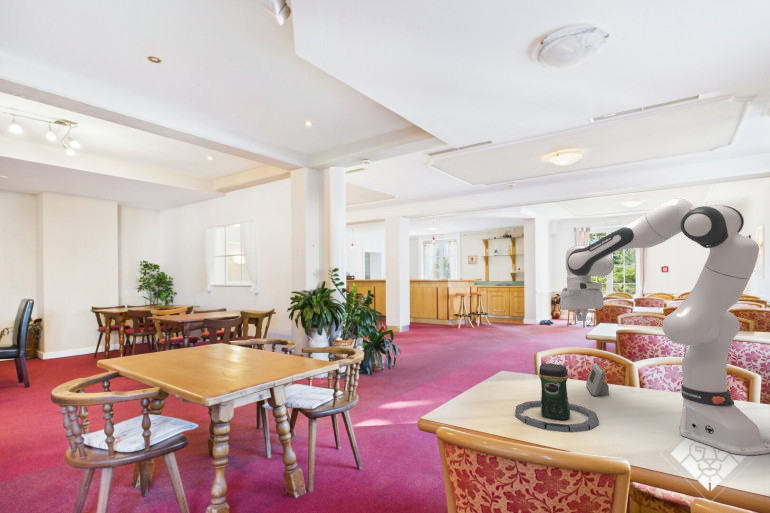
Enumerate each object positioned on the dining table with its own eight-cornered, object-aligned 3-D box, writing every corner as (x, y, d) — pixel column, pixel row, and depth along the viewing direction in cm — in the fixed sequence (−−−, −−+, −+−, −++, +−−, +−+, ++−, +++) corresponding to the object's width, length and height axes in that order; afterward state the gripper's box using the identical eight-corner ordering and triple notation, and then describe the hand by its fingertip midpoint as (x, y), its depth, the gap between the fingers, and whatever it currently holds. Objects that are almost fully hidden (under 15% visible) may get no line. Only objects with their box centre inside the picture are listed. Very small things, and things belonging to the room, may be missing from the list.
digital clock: (586, 386, 180) (585, 362, 180) (609, 388, 175) (608, 364, 176) (584, 395, 166) (582, 370, 166) (608, 398, 161) (607, 372, 162)
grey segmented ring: (616, 427, 132) (616, 422, 132) (541, 435, 127) (541, 429, 127) (566, 402, 158) (566, 397, 158) (502, 407, 154) (502, 403, 154)
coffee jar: (571, 415, 144) (569, 363, 145) (568, 422, 137) (565, 367, 138) (543, 410, 149) (541, 360, 150) (538, 417, 143) (536, 364, 144)
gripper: (555, 288, 170) (557, 320, 168) (591, 284, 151) (594, 321, 148) (567, 288, 172) (570, 320, 169) (605, 284, 152) (608, 321, 150)
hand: (581, 321), depth 159 cm, fingers closed
